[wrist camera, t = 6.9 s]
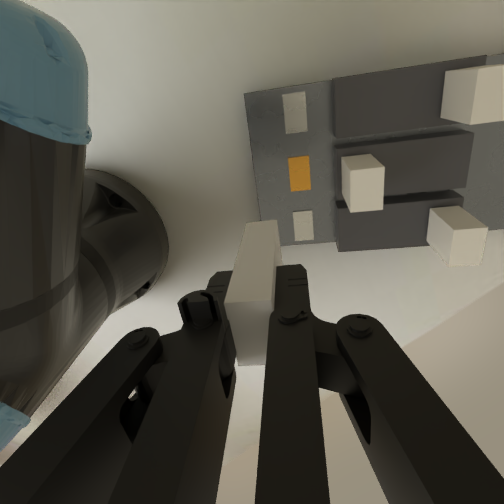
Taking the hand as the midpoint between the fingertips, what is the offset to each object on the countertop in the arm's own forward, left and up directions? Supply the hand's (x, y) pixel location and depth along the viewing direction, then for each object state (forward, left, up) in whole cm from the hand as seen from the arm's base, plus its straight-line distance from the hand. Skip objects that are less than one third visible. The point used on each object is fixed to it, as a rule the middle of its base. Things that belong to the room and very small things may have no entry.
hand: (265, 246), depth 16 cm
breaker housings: (+10, 0, -15) cm, 18 cm away
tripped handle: (+6, 0, -12) cm, 14 cm away
